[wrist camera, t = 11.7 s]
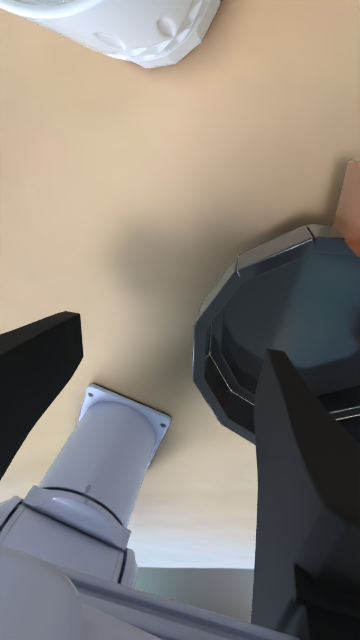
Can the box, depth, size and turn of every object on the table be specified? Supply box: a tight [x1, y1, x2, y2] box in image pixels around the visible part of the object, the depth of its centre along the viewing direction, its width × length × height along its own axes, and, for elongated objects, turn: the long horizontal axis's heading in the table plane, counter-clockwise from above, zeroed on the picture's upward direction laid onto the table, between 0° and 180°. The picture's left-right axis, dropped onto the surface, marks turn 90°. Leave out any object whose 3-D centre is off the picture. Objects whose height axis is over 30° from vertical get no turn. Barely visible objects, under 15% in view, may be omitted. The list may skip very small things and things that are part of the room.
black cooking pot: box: [192, 159, 360, 445], centre depth 16 cm, size 16×13×8 cm
